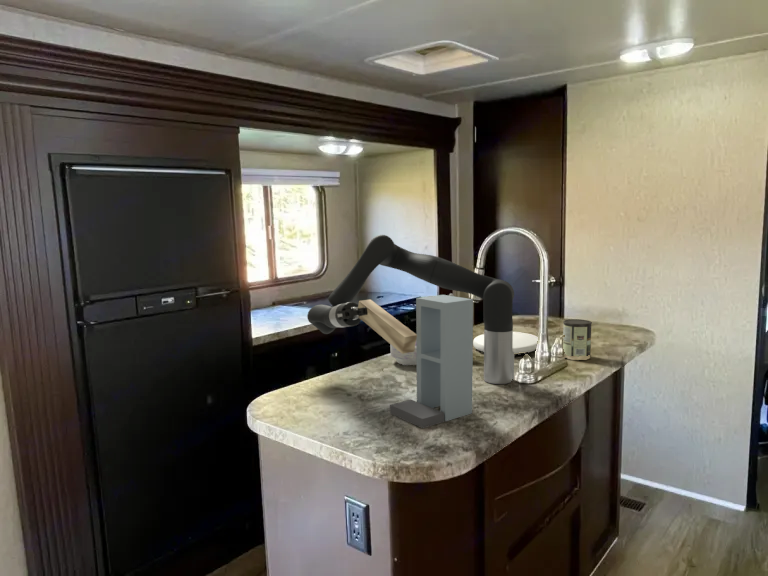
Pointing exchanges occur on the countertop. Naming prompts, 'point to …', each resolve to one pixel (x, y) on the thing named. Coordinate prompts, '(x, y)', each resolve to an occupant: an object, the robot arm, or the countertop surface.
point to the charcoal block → (417, 413)
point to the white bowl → (404, 356)
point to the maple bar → (388, 327)
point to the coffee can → (577, 337)
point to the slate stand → (445, 354)
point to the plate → (520, 342)
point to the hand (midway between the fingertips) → (373, 310)
